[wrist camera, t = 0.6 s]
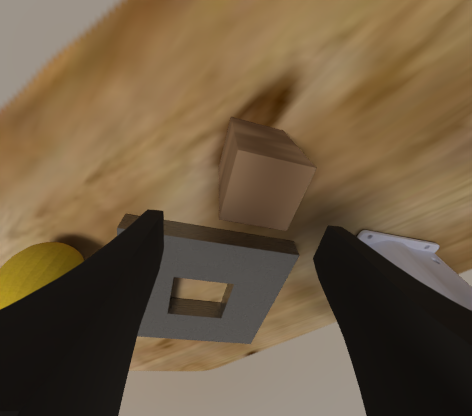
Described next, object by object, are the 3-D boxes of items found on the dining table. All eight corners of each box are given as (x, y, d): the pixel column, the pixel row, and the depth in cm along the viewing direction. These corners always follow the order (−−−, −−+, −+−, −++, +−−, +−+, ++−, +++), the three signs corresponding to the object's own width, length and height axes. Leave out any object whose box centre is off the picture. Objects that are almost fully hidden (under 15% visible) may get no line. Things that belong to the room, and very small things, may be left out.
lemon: (98, 272, 24) (51, 356, 17) (36, 260, 22) (-41, 346, 16) (103, 233, 21) (51, 314, 14) (34, 216, 20) (-60, 298, 13)
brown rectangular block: (282, 130, 17) (316, 168, 11) (265, 178, 19) (286, 230, 13) (230, 116, 16) (237, 149, 10) (218, 168, 18) (219, 219, 13)
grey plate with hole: (293, 241, 23) (299, 255, 21) (248, 328, 31) (250, 343, 30) (125, 213, 20) (117, 227, 18) (124, 318, 28) (118, 335, 27)
